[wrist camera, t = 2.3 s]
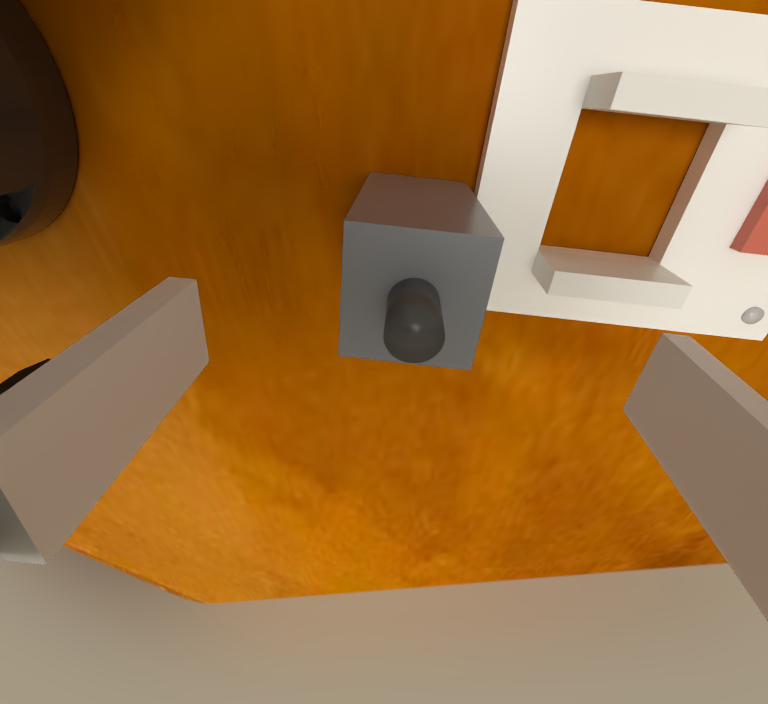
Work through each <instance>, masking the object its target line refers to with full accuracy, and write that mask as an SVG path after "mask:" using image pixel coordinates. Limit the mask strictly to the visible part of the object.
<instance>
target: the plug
mask: <svg viewBox="0 0 768 704" xmlns="http://www.w3.org/2000/svg"><path fill="white" fill-rule="evenodd" d="M503 242H504V237H503V235H502V234H501V232H500V231H499V229H498V228H497V227H496V225H495V224H494V222H493V221H492V219H491V218H490V216H489V215H488V213H487V212H486V211H485V209H484V208H483V206H482V205H481V203H480V202H479V200H478V199H477V197H476V196H475V195H474V193H473V192H472V190H471V189H470V187H469V186H468V184H467V183H466V182H458V181H449V180H440V179H431V178H422V177H413V176H404V175H395V174H386V173H377V172H370V174H369V175H368V177H367V179H366V181H365V183H364V185H363V186H362V188H361V190H360V192H359V194H358V196H357V197H356V199H355V201H354V203H353V205H352V206H351V208H350V210H349V212H348V214H347V216H346V217H345V219H344V230H343V254H342V278H341V303H340V327H339V351H338V356H344V357H354V358H363V359H372V360H381V361H390V362H399V363H408V364H418V365H427V366H436V367H445V368H454V369H463V370H471V368H472V364H473V360H474V356H475V352H476V348H477V344H478V340H479V336H480V332H481V328H482V324H483V321H484V317H485V313H486V309H487V305H488V301H489V297H490V293H491V289H492V285H493V281H494V278H495V274H496V270H497V266H498V262H499V258H500V254H501V250H502V246H503Z"/></svg>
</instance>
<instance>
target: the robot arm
mask: <svg viewBox="0 0 768 704" xmlns="http://www.w3.org/2000/svg"><path fill="white" fill-rule="evenodd" d="M77 161H78V149H77V136H76V129H75V123H74V118H73V114H72V110H71V106H70V102H69V99H68V96H67V92H66V90H65V87H64V84H63V81H62V79H61V76H60V74H59V72H58V69H57V67H56V65H55V62H54V60H53V58H52V56H51V54H50V52H49V50H48V48H47V46H46V44H45V42H44V41H43V39H42V37H41V35H40V33H39V32H38V30H37V28H36V27H35V25H34V23H33V22H32V20H31V19H30V17H29V16H28V14H27V13H26V11H25V10H24V8H23V7H22V5H21V4H20V2H19V1H18V0H0V246H3V245H6V244H8V243H11V242H14V241H17V240H20V239H22V238H25V237H28V236H31V235H33V234H35V233H37V232H39V231H41V230H43V229H44V228H46V227H47V226H49V225H50V224H51V223H52V222H53V221H54V220H55V219H56V218H57V217H58V216H59V215H60V213H61V212H62V211H63V209H64V208H65V206H66V204H67V202H68V200H69V198H70V196H71V193H72V190H73V187H74V183H75V178H76V172H77ZM208 362H209V356H208V350H207V344H206V337H205V331H204V325H203V318H202V312H201V306H200V300H199V293H198V287H197V281H196V279H187V278H178V277H170V276H169V277H168V278H166V279H165V280H163V281H162V282H161V283H159V284H158V285H156V286H155V287H154V288H152V289H151V290H149V291H148V292H146V293H145V294H144V295H142V296H141V297H139V298H138V299H136V300H135V301H134V302H132V303H131V304H129V305H128V306H126V307H125V308H124V309H122V310H121V311H119V312H118V313H116V314H115V315H114V316H112V317H111V318H109V319H108V320H107V321H105V322H104V323H102V324H101V325H99V326H98V327H97V328H95V329H94V330H92V331H91V332H89V333H88V334H87V335H85V336H84V337H82V338H81V339H79V340H78V341H77V342H75V343H74V344H72V345H71V346H69V347H68V348H67V349H65V350H64V351H62V352H61V353H60V354H58V355H57V356H55V357H54V358H52V359H46V360H44V361H42V362H39V363H37V364H35V365H32V366H30V367H27V368H25V369H23V370H20V371H18V372H17V373H16V374H14V375H13V376H11V377H10V378H8V379H7V380H5V381H4V382H2V383H1V384H0V555H1V557H2V558H3V559H4V560H7V561H16V562H25V563H33V564H42V565H48V563H49V562H50V561H51V560H52V558H53V557H54V556H55V554H56V553H57V552H58V551H59V549H60V548H61V547H62V546H63V545H64V543H65V542H66V541H67V539H68V538H69V537H70V536H71V534H72V533H73V532H74V531H75V529H76V528H77V527H78V526H79V524H80V523H81V522H82V521H83V519H84V518H85V517H86V516H87V514H88V513H89V512H90V511H91V509H92V508H93V507H94V506H95V504H96V503H97V502H98V501H99V499H100V498H101V497H102V496H103V494H104V493H105V492H106V491H107V489H108V488H109V487H110V486H111V484H112V483H113V482H114V480H115V479H116V478H117V477H118V475H119V474H120V473H121V472H122V470H123V469H124V468H125V467H126V465H127V464H128V463H129V462H130V460H131V459H132V458H133V457H134V455H135V454H136V453H137V452H138V450H139V449H140V448H141V447H142V445H143V444H144V443H145V442H146V440H147V439H148V438H149V437H150V435H151V434H152V433H153V432H154V430H155V429H156V428H157V427H158V425H159V424H160V423H161V421H162V420H163V419H164V418H165V416H166V415H167V414H168V413H169V411H170V410H171V409H172V408H173V406H174V405H175V404H176V403H177V401H178V400H179V399H180V398H181V396H182V395H183V394H184V393H185V391H186V390H187V389H188V388H189V386H190V385H191V384H192V383H193V381H194V380H195V379H196V378H197V376H198V375H199V374H200V373H201V371H202V370H203V369H204V368H205V366H206V365H207V364H208ZM623 411H624V412H625V414H626V415H627V417H628V418H629V419H630V421H631V422H632V424H633V425H634V427H635V428H636V430H637V431H638V433H639V434H640V435H641V437H642V438H643V440H644V441H645V443H646V444H647V446H648V447H649V449H650V450H651V452H652V453H653V454H654V456H655V457H656V459H657V460H658V462H659V463H660V465H661V466H662V468H663V469H664V471H665V472H666V473H667V475H668V476H669V478H670V479H671V481H672V482H673V484H674V485H675V487H676V488H677V489H678V491H679V492H680V494H681V495H682V497H683V498H684V500H685V501H686V503H687V504H688V506H689V507H690V508H691V510H692V511H693V513H694V514H695V516H696V517H697V519H698V520H699V522H700V523H701V525H702V526H703V527H704V529H705V530H706V532H707V533H708V535H709V536H710V538H711V539H712V541H713V542H714V543H715V545H716V546H717V548H718V549H719V551H720V552H721V554H722V555H723V557H724V558H725V560H726V561H727V562H728V564H729V565H730V567H731V568H732V570H733V571H734V573H735V574H736V576H737V577H738V578H739V580H740V581H741V583H742V584H743V586H744V587H745V588H746V590H747V592H748V593H749V594H750V596H751V597H752V599H753V600H754V602H755V603H756V605H757V606H758V608H759V609H760V611H761V612H762V614H763V615H764V616H765V618H766V619H767V621H768V401H767V400H765V399H764V398H763V397H762V396H761V395H759V394H758V393H757V392H756V391H755V390H753V389H752V388H751V387H750V386H749V385H748V384H746V383H745V382H744V381H743V380H742V379H740V378H739V377H738V376H737V375H736V374H734V373H733V372H732V371H731V370H730V369H728V368H727V367H726V366H725V365H724V364H722V363H721V362H720V361H719V360H718V359H717V358H715V357H714V356H713V355H712V354H711V353H709V352H708V351H707V350H706V349H705V348H703V347H702V346H701V345H700V344H699V343H697V342H696V341H695V340H694V339H693V338H691V337H690V336H685V335H676V334H668V333H662V335H661V336H660V338H659V340H658V342H657V344H656V346H655V348H654V350H653V352H652V354H651V356H650V357H649V359H648V361H647V363H646V365H645V367H644V369H643V371H642V373H641V375H640V376H639V378H638V380H637V382H636V384H635V386H634V388H633V390H632V392H631V394H630V395H629V397H628V399H627V401H626V403H625V405H624V407H623Z"/></svg>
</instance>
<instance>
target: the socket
mask: <svg viewBox="0 0 768 704" xmlns="http://www.w3.org/2000/svg"><path fill="white" fill-rule="evenodd" d="M581 109H589V110H598V111H607V112H616V113H625V114H633V115H642V116H651V117H660V118H669V119H678V120H687V121H695V122H704V123H709V125H708V128H707V130H706V132H705V134H704V136H703V138H702V141H701V143H700V145H699V147H698V149H697V152H696V154H695V156H694V158H693V160H692V162H691V165H690V167H689V169H688V171H687V173H686V176H685V178H684V180H683V182H682V184H681V186H680V189H679V191H678V193H677V195H676V197H675V200H674V202H673V204H672V206H671V208H670V210H669V213H668V215H667V217H666V219H665V221H664V224H663V226H662V228H661V230H660V232H659V234H658V237H657V239H656V241H655V243H654V245H653V248H652V250H651V252H650V254H649V256H648V257H646V256H637V255H628V254H619V253H610V252H601V251H592V250H583V249H574V248H565V247H556V246H547V245H540V243H541V239H542V236H543V233H544V230H545V226H546V223H547V220H548V217H549V213H550V210H551V207H552V203H553V200H554V197H555V194H556V190H557V187H558V184H559V181H560V177H561V174H562V171H563V167H564V164H565V161H566V158H567V154H568V151H569V148H570V145H571V141H572V138H573V135H574V131H575V128H576V125H577V122H578V118H579V115H580V112H581ZM474 195H475V196H476V197H477V199H478V200H479V202H480V203H481V205H482V206H483V208H484V209H485V211H486V212H487V213H488V215H489V216H490V218H491V219H492V221H493V222H494V224H495V225H496V227H497V228H498V229H499V231H500V232H501V234H502V235H503V237H504V242H503V246H502V250H501V254H500V258H499V262H498V266H497V270H496V274H495V278H494V281H493V285H492V289H491V293H490V297H489V301H488V305H487V309H486V310H489V311H498V312H507V313H516V314H525V315H534V316H544V317H553V318H562V319H571V320H580V321H589V322H598V323H607V324H616V325H625V326H634V327H643V328H652V329H661V330H670V331H679V332H688V333H697V334H706V335H716V336H725V337H734V338H743V339H752V340H761V341H762V340H763V339H764V337H765V336H766V334H767V333H768V15H763V14H754V13H745V12H737V11H728V10H719V9H710V8H702V7H693V6H684V5H675V4H667V3H658V2H649V1H640V0H513V3H512V8H511V13H510V18H509V23H508V28H507V33H506V38H505V43H504V48H503V53H502V58H501V63H500V67H499V72H498V77H497V82H496V87H495V92H494V97H493V102H492V107H491V112H490V117H489V122H488V127H487V131H486V136H485V141H484V146H483V151H482V156H481V161H480V166H479V171H478V176H477V181H476V186H475V190H474Z"/></svg>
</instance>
